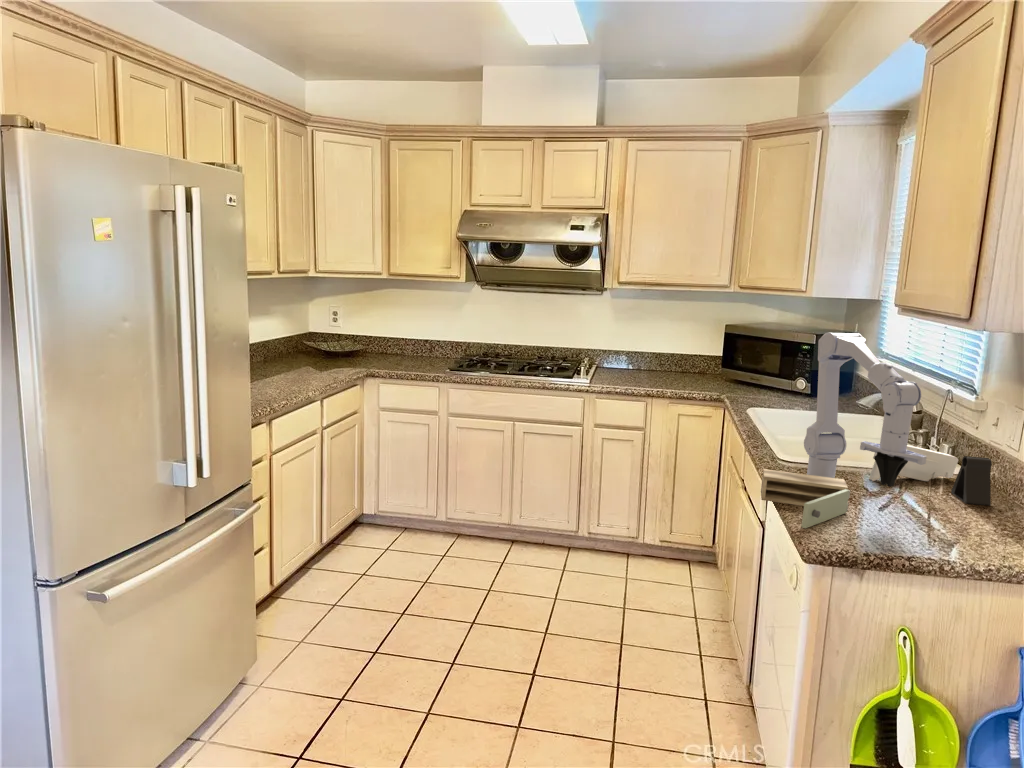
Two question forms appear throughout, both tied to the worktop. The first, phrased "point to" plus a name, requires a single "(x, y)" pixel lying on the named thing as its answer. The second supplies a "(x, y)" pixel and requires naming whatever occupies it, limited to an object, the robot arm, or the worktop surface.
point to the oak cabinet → (797, 487)
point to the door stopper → (973, 481)
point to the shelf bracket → (924, 466)
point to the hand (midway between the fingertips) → (887, 484)
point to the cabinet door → (825, 508)
